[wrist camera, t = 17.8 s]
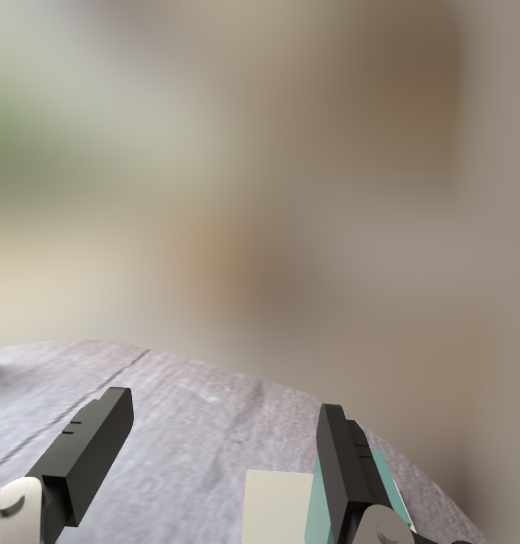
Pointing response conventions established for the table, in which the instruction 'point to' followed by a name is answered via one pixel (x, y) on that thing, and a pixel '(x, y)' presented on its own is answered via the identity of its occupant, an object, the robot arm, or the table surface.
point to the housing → (318, 518)
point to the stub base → (277, 507)
